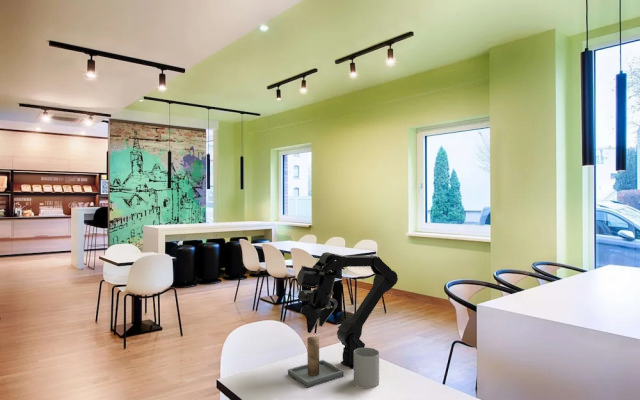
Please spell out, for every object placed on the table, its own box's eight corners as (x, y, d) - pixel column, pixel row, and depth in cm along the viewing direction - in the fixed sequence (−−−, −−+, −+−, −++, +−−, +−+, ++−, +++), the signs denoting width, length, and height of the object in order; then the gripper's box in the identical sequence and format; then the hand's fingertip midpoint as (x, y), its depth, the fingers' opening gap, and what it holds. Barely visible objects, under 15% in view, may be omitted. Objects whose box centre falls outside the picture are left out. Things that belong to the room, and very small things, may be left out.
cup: (378, 389, 127) (378, 357, 128) (352, 387, 129) (352, 355, 129) (379, 378, 136) (379, 348, 136) (355, 376, 137) (355, 346, 138)
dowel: (314, 370, 140) (314, 335, 140) (321, 374, 137) (321, 338, 137) (305, 373, 138) (305, 338, 137) (312, 377, 134) (311, 341, 134)
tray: (322, 364, 147) (323, 359, 147) (343, 376, 137) (343, 370, 137) (287, 374, 138) (287, 369, 138) (307, 387, 128) (307, 382, 128)
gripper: (316, 276, 155) (307, 315, 157) (292, 284, 139) (282, 327, 140) (342, 286, 151) (332, 325, 152) (320, 295, 134) (310, 340, 135)
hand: (314, 329), depth 145 cm, fingers open, 9 cm apart
